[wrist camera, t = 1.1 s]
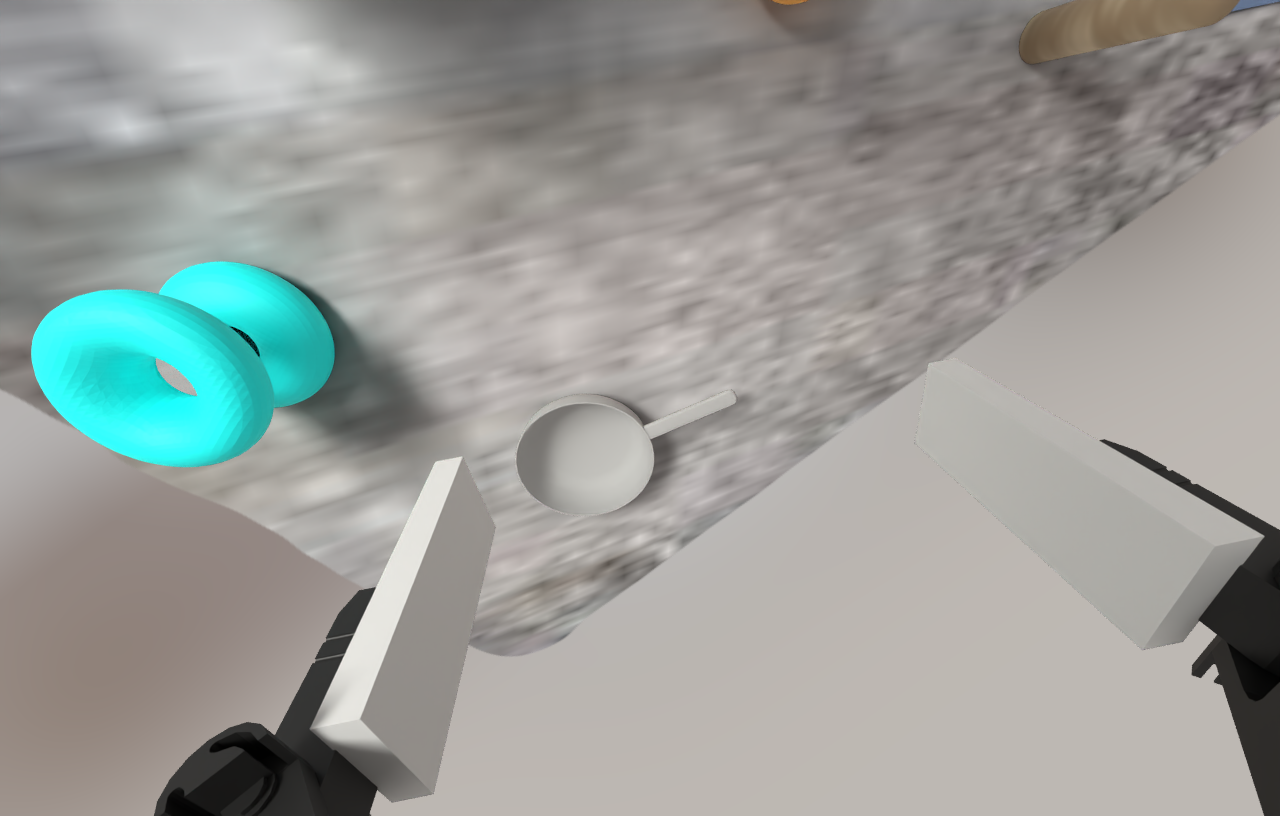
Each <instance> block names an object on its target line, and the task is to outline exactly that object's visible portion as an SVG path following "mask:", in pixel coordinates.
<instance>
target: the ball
mask: <svg viewBox="0 0 1280 816" xmlns="http://www.w3.org/2000/svg"><path fill="white" fill-rule="evenodd" d="M771 1H774V2H776V3H780V4H786V5H791V4H799V3H802V2H805V1H808V0H771Z"/></svg>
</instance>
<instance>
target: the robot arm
mask: <svg viewBox="0 0 1280 816" xmlns="http://www.w3.org/2000/svg"><path fill="white" fill-rule="evenodd" d="M915 444H916V445H917V446H918V447H919V448H920V449H921V450H922V451H923V452H925V453H926V454H927V455H928V456H929V457H930V458H931V459H932V460H934V461H935V462H936V463H937V464H938V465H939V466H940V467H941V468H942V469H943V470H944V471H945V472H947V473H948V474H949V475H950V476H951V477H952V478H953V479H954V480H955V481H957V482H958V483H959V484H960V485H961V486H962V487H963V488H964V489H965V490H967V491H968V492H969V493H970V494H971V495H972V496H973V497H974V498H975V499H976V500H977V501H979V502H980V503H981V504H982V505H983V506H984V507H985V508H986V509H987V510H988V511H990V512H991V513H992V514H993V515H994V516H995V517H996V518H997V519H998V520H999V521H1001V522H1002V523H1003V524H1004V525H1005V526H1006V527H1007V528H1008V529H1009V530H1010V531H1012V532H1013V533H1014V534H1015V535H1016V536H1017V537H1018V538H1019V539H1020V540H1021V541H1022V542H1024V543H1025V544H1026V545H1027V546H1028V547H1029V548H1030V549H1031V550H1032V551H1033V552H1035V553H1036V554H1037V555H1038V556H1039V557H1040V558H1041V559H1042V560H1043V561H1044V562H1046V563H1047V564H1048V565H1049V566H1050V567H1051V568H1052V569H1053V570H1054V571H1055V572H1057V573H1058V574H1059V575H1060V576H1061V577H1062V578H1063V579H1064V580H1065V581H1066V582H1068V583H1069V584H1070V585H1071V586H1072V587H1073V588H1074V589H1075V590H1076V591H1077V592H1079V593H1080V594H1081V595H1082V596H1083V597H1084V598H1085V599H1086V600H1087V601H1088V602H1090V603H1091V604H1092V605H1093V606H1094V607H1095V608H1096V609H1097V610H1098V611H1100V613H1102V614H1103V615H1104V616H1105V617H1106V618H1107V619H1108V620H1109V621H1110V622H1111V623H1113V624H1114V625H1115V626H1116V627H1117V628H1118V629H1119V630H1120V631H1122V633H1124V634H1125V635H1126V636H1127V637H1128V638H1129V639H1130V640H1131V641H1133V643H1135V644H1136V645H1137V646H1138V647H1139V648H1140V649H1141V650H1145V649H1150V648H1155V647H1160V646H1165V645H1170V644H1175V643H1180V642H1183V641H1184V640H1185V639H1186V637H1187V636H1188V635H1189V633H1190V632H1191V631H1192V629H1193V628H1194V627H1195V626H1196V624H1197V623H1198V622H1199V621H1200V622H1202V623H1203V624H1204V625H1206V626H1207V627H1208V628H1210V629H1211V630H1212V631H1213V632H1215V633H1216V634H1217V636H1216V637H1215V638H1214V639H1213V641H1212V642H1211V643H1210V644H1209V645H1208V647H1207V648H1206V649H1205V650H1204V651H1203V653H1202V654H1201V655H1200V656H1199V657H1198V659H1197V660H1196V661H1195V662H1194V664H1193V665H1192V675H1193V676H1196V677H1199V678H1201V677H1202V676H1203V675H1204V674H1205V673H1206V671H1207V670H1208V669H1209V668H1210V667H1211V666H1212V665H1213V664H1216V666H1217V669H1218V673H1219V675H1218V676H1217V678H1216V679H1215V680H1214V682H1215V683H1217V684H1220V685H1223V688H1224V692H1225V695H1226V698H1227V701H1228V704H1229V707H1230V710H1231V713H1232V717H1233V720H1234V722H1235V726H1236V729H1237V732H1238V735H1239V738H1240V741H1241V745H1242V748H1243V751H1244V754H1245V757H1246V760H1247V763H1248V766H1249V770H1250V773H1251V776H1252V779H1253V782H1254V785H1255V788H1256V791H1257V794H1258V798H1259V801H1260V804H1261V807H1262V810H1263V813H1264V816H1280V530H1279V529H1277V528H1275V527H1273V526H1271V525H1270V524H1268V523H1266V522H1264V521H1263V520H1261V519H1259V518H1257V517H1255V516H1254V515H1252V514H1250V513H1248V512H1246V511H1245V510H1243V509H1241V508H1239V507H1237V506H1235V505H1234V504H1232V503H1230V502H1228V501H1227V500H1225V499H1223V498H1221V497H1219V496H1218V495H1216V494H1214V493H1212V492H1210V491H1209V490H1207V489H1205V488H1203V487H1201V486H1200V485H1198V484H1192V483H1191V482H1190V480H1189V479H1187V478H1185V477H1184V476H1182V475H1180V474H1178V473H1176V472H1174V471H1173V470H1171V471H1168V470H1167V469H1166V466H1164V465H1162V464H1160V463H1158V462H1157V461H1155V460H1153V459H1151V458H1149V457H1148V456H1146V455H1144V454H1142V453H1140V452H1138V451H1136V450H1133V449H1130V448H1128V447H1125V446H1122V445H1119V444H1116V443H1113V442H1110V441H1107V440H1105V439H1104V440H1097V439H1095V438H1094V437H1092V436H1090V435H1089V434H1087V433H1085V432H1083V431H1081V430H1080V429H1078V428H1076V427H1075V426H1073V425H1071V424H1070V423H1068V422H1066V421H1064V420H1063V419H1060V418H1059V417H1057V416H1056V415H1054V414H1052V413H1050V412H1049V411H1047V410H1045V409H1044V408H1042V407H1040V406H1038V405H1037V404H1035V403H1033V402H1031V401H1030V400H1028V399H1026V398H1025V397H1023V396H1021V395H1019V394H1018V393H1016V392H1014V391H1012V390H1011V389H1009V388H1007V387H1005V386H1004V385H1002V384H1000V383H998V382H997V381H995V380H993V379H992V378H990V377H988V376H986V375H985V374H983V373H981V372H979V371H978V370H976V369H974V368H973V367H971V366H969V365H967V364H966V363H964V362H962V361H960V360H959V359H957V358H952V359H947V360H942V361H937V362H932V363H929V364H928V370H927V376H926V381H925V387H924V392H923V398H922V404H921V409H920V416H919V421H918V426H917V431H916V437H915ZM495 528H496V527H495V525H494V522H493V520H492V518H491V516H490V514H489V512H488V509H487V507H486V505H485V503H484V501H483V499H482V497H481V494H480V492H479V490H478V488H477V486H476V484H475V481H474V479H473V477H472V475H471V473H470V471H469V469H468V466H467V464H466V462H465V460H464V458H463V456H462V457H457V458H452V459H447V460H442V461H437V462H435V464H434V466H433V468H432V470H431V472H430V475H429V477H428V479H427V481H426V483H425V485H424V487H423V489H422V492H421V494H420V496H419V498H418V500H417V502H416V504H415V506H414V509H413V511H412V513H411V515H410V517H409V519H408V521H407V523H406V526H405V528H404V530H403V532H402V534H401V536H400V538H399V540H398V543H397V545H396V547H395V549H394V551H393V553H392V555H391V557H390V560H389V562H388V564H387V566H386V568H385V570H384V572H383V574H382V577H381V579H380V581H379V583H378V585H377V587H374V588H369V589H364V590H359V591H358V592H357V594H356V595H355V596H354V597H353V598H352V599H351V600H350V601H349V602H348V604H347V605H346V606H345V607H344V608H343V609H342V610H341V611H340V613H339V614H338V616H337V618H336V620H335V622H334V623H333V625H332V627H331V629H330V631H329V633H328V635H327V637H326V639H327V640H326V642H325V643H323V645H322V646H321V648H320V650H319V652H318V654H317V656H316V658H315V659H316V662H315V663H313V664H312V665H311V667H310V669H309V671H308V673H307V675H306V677H305V679H304V681H303V683H302V684H301V687H300V689H299V690H298V692H297V694H296V696H295V698H294V700H293V702H292V704H291V705H290V707H289V710H288V711H287V713H286V715H285V717H284V719H283V721H282V723H281V724H280V726H279V728H278V730H277V732H276V734H275V735H273V734H272V733H271V732H270V731H268V730H267V729H266V728H265V727H264V726H262V725H261V724H257V723H249V722H246V723H243V724H240V725H237V726H234V727H230V728H228V729H226V730H225V731H223V732H221V733H220V734H218V735H216V736H215V737H213V738H212V739H210V740H208V741H207V742H206V743H205V744H204V745H203V746H201V747H200V748H199V749H198V750H197V751H196V752H194V753H193V754H192V755H191V756H190V757H189V758H188V759H187V760H186V761H185V762H184V763H183V765H182V766H181V767H180V768H179V769H178V771H177V772H176V773H175V774H174V775H173V776H172V778H171V779H170V780H169V782H168V784H167V785H166V787H165V789H164V791H163V793H162V794H161V796H160V798H159V799H158V801H157V805H156V810H155V814H154V816H371V815H370V810H371V807H372V804H373V801H374V798H375V794H376V791H377V790H378V791H379V792H381V793H382V794H383V795H384V796H385V797H386V798H387V799H388V800H389V801H391V802H397V801H402V800H407V799H412V798H417V797H422V796H427V795H432V794H434V790H435V786H436V781H437V777H438V772H439V768H440V764H441V760H442V756H443V751H444V747H445V743H446V738H447V734H448V730H449V726H450V721H451V717H452V713H453V708H454V704H455V700H456V695H457V691H458V687H459V683H460V678H461V674H462V670H463V665H464V661H465V657H466V652H467V648H468V644H469V640H470V635H471V631H472V627H473V623H474V618H475V614H476V610H477V605H478V601H479V597H480V593H481V588H482V584H483V580H484V575H485V571H486V567H487V563H488V558H489V554H490V550H491V545H492V541H493V537H494V533H495Z"/></svg>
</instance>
